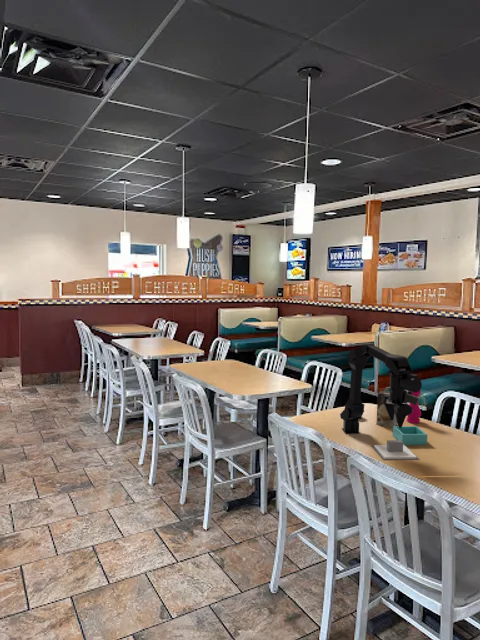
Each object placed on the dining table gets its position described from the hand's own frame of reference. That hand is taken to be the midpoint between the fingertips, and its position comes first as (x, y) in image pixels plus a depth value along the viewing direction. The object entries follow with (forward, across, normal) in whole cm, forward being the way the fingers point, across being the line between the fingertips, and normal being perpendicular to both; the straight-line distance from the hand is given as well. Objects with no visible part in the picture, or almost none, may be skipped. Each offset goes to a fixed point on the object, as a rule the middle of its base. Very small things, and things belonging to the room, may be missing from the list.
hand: (395, 423), depth 186 cm
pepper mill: (+13, +41, -25) cm, 50 cm away
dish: (+13, +14, -12) cm, 22 cm away
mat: (+13, 0, 0) cm, 13 cm away
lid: (+12, 0, 0) cm, 12 cm away
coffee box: (+13, +37, -10) cm, 40 cm away
